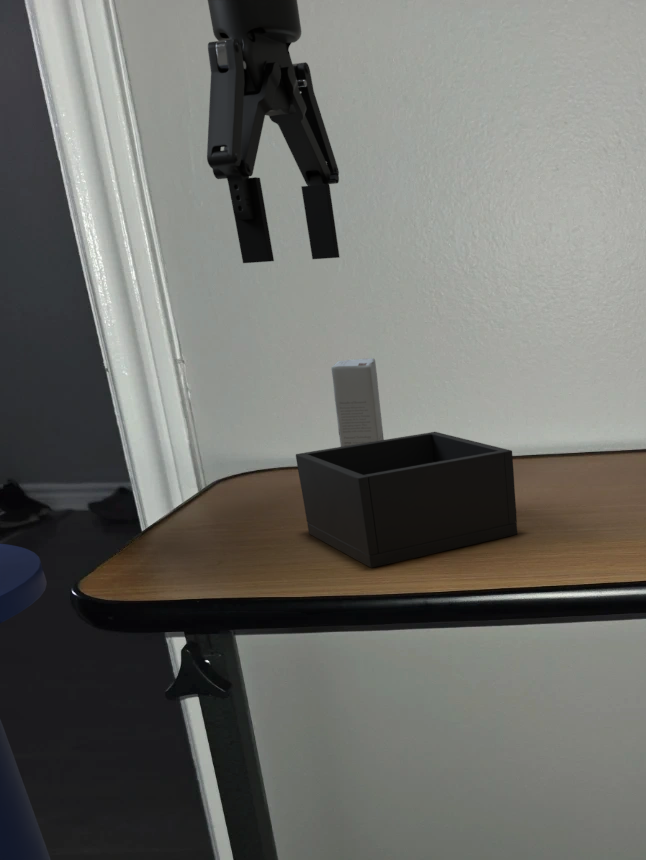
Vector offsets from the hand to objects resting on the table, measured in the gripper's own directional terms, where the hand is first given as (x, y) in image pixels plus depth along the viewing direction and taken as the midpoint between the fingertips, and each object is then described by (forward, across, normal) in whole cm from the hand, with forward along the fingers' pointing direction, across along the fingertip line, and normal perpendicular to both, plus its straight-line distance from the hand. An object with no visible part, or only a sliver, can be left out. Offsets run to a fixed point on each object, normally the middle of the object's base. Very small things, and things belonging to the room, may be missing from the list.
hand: (294, 260), depth 89 cm
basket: (+22, -17, -16) cm, 32 cm away
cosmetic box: (+22, +5, -2) cm, 23 cm away
